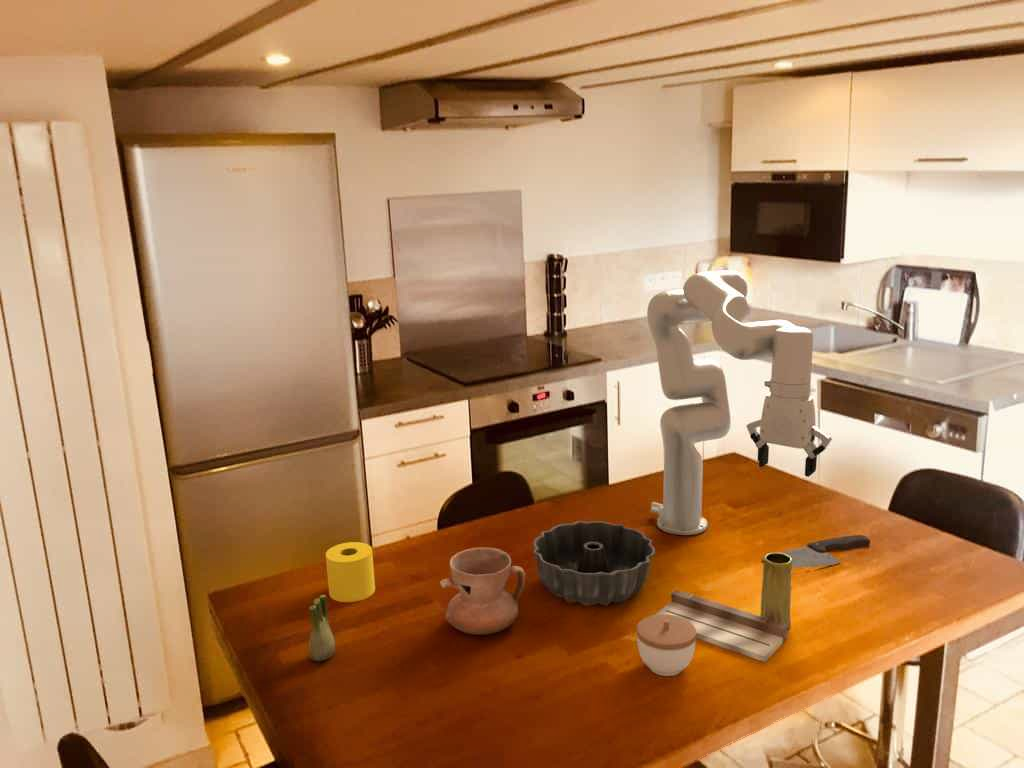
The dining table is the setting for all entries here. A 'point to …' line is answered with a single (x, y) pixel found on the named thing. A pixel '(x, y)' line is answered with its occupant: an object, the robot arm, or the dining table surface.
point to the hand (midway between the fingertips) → (785, 469)
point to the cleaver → (823, 551)
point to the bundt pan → (593, 561)
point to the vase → (776, 588)
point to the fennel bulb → (320, 632)
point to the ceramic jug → (482, 591)
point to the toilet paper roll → (350, 572)
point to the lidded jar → (666, 643)
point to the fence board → (728, 626)
